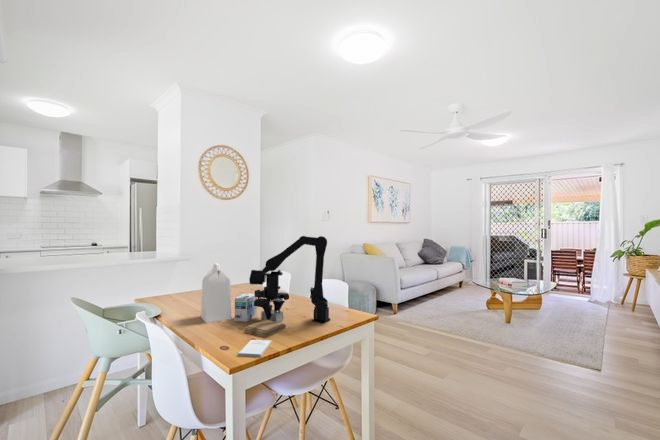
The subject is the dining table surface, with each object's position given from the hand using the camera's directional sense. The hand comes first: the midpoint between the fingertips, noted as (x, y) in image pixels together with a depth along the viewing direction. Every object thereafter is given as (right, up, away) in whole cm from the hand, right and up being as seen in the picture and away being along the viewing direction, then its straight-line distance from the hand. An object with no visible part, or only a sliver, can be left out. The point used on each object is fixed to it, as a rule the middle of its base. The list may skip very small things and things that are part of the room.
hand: (272, 317), depth 139 cm
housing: (0, -1, 0) cm, 1 cm away
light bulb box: (-13, -2, +3) cm, 14 cm away
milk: (-28, -1, +4) cm, 28 cm away
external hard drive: (0, -1, -33) cm, 33 cm away
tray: (0, -1, -14) cm, 14 cm away
